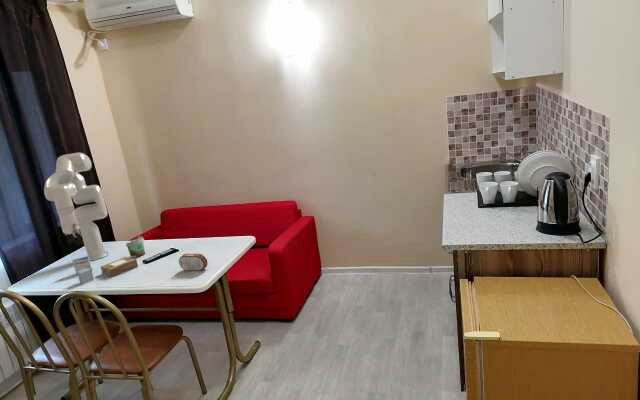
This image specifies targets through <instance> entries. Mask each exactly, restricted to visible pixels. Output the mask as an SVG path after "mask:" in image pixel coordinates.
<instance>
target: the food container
mask: <svg viewBox="0 0 640 400" xmlns="http://www.w3.org/2000/svg"><path fill="white" fill-rule="evenodd" d="M144 241H145V239H144V237H143V236H142V235H138V236H137V238H136V239H132V240H131V241H129V242H126V243H125V246H126V247H127V249H128V252H129V253H128V254H129V255H130V258H132V259H137V258H142V257H143V256H145V255H146V252H145V246H144ZM141 256H142V257H141Z"/></svg>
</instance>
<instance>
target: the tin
mask: <svg viewBox="0 0 640 400" xmlns="http://www.w3.org/2000/svg"><path fill="white" fill-rule="evenodd" d="M178 264H179V266H180V268H181V269H182V270H184V271H187V272H195V271H196V272H200V271H203V270H205V269H206V268H207V267H208V264H209V263H208V259H207V258H206V257H205V255H203V254H201V253H183V254H182V256H180V257H179V258H178Z"/></svg>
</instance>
